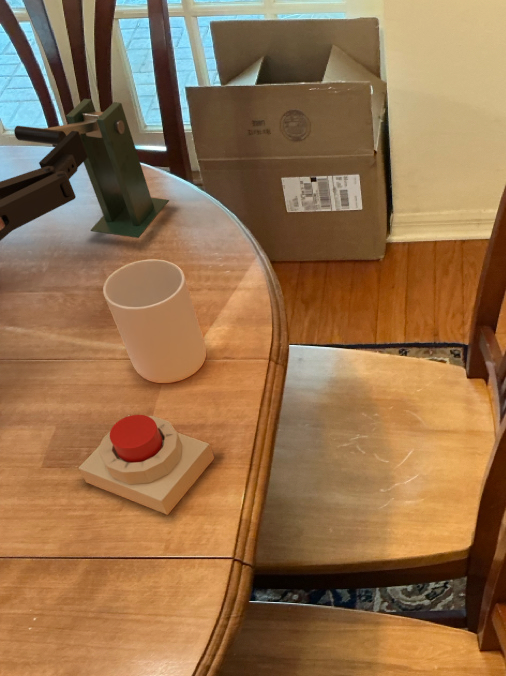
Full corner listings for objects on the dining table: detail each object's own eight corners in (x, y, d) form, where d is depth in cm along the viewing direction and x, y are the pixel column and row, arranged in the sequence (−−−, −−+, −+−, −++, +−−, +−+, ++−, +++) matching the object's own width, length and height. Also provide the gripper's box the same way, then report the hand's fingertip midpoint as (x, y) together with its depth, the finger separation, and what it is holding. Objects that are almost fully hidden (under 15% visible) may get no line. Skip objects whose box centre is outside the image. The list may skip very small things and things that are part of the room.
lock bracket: (141, 246, 100) (101, 130, 88) (93, 239, 101) (47, 124, 89) (171, 208, 105) (137, 94, 93) (125, 202, 106) (86, 88, 94)
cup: (132, 389, 84) (99, 313, 76) (137, 320, 91) (107, 244, 83) (208, 379, 85) (184, 303, 76) (207, 312, 92) (185, 234, 83)
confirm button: (107, 454, 74) (99, 439, 72) (135, 424, 76) (128, 409, 74) (144, 468, 72) (137, 453, 71) (171, 437, 75) (165, 422, 73)
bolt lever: (60, 151, 83) (56, 126, 82) (16, 146, 84) (11, 121, 83) (127, 136, 94) (124, 114, 93) (87, 131, 95) (84, 109, 94)
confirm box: (85, 482, 76) (70, 455, 73) (135, 429, 81) (122, 401, 77) (168, 515, 74) (155, 488, 70) (214, 458, 78) (205, 430, 75)
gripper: (-189, 270, 75) (-59, 159, 87) (35, 306, 71) (140, 184, 83) (-244, 197, 69) (-96, 89, 81) (-3, 231, 65) (116, 112, 76)
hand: (23, 137), depth 82 cm, fingers open, 13 cm apart
